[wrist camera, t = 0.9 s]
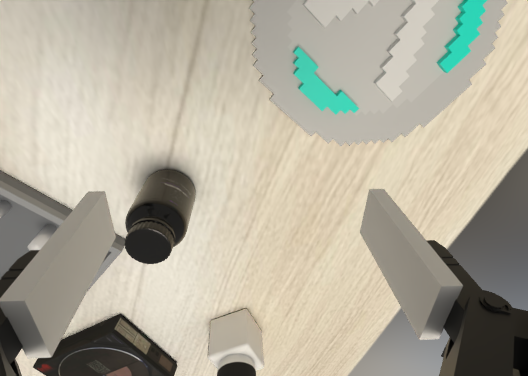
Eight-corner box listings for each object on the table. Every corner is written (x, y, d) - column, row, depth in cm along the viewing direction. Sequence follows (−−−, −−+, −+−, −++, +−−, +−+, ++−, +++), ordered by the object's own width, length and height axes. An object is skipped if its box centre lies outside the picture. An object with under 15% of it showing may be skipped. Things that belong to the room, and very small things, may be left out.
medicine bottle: (209, 319, 57) (203, 390, 46) (246, 307, 56) (249, 375, 45) (227, 342, 60) (225, 412, 50) (262, 330, 59) (267, 399, 49)
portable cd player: (178, 359, 62) (174, 380, 59) (107, 388, 65) (100, 409, 61) (122, 310, 55) (115, 331, 51) (45, 345, 57) (32, 367, 54)
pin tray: (-103, 234, 43) (-144, 262, 39) (-56, 139, 38) (-99, 158, 33) (68, 307, 53) (52, 337, 48) (127, 240, 47) (114, 266, 42)
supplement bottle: (193, 167, 42) (179, 219, 31) (197, 210, 45) (186, 271, 35) (140, 167, 41) (107, 221, 31) (148, 211, 45) (121, 273, 34)
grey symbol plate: (547, 11, 36) (559, 11, 35) (360, 179, 45) (364, 184, 44) (405, -251, 26) (415, -266, 24) (198, 35, 35) (197, 36, 33)
